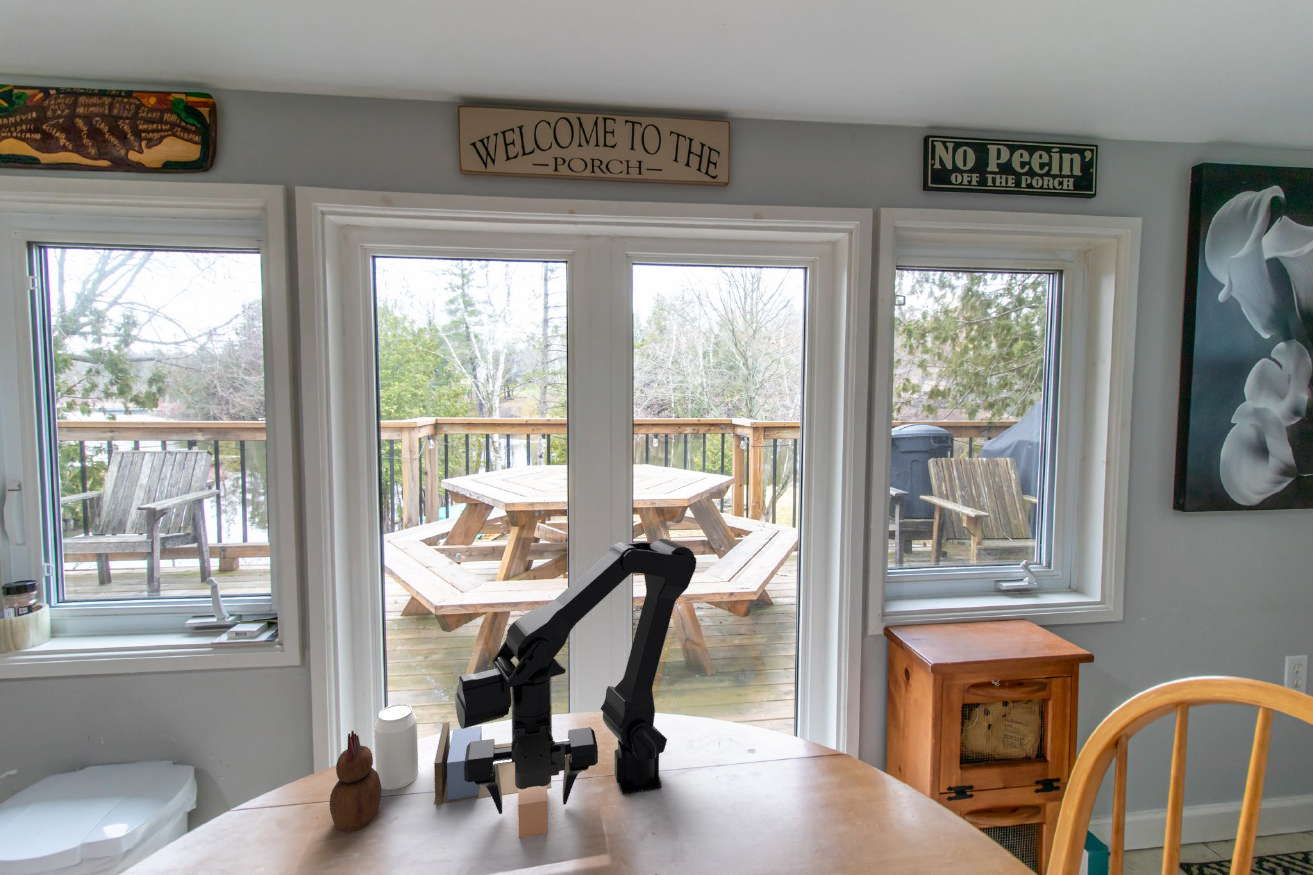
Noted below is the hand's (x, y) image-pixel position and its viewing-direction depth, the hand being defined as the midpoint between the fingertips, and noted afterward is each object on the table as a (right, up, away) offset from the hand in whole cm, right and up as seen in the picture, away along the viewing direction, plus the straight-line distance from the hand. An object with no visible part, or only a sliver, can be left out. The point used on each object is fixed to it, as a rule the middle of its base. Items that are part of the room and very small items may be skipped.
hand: (532, 807), depth 89 cm
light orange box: (0, -2, 0) cm, 2 cm away
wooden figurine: (-25, -2, -1) cm, 26 cm away
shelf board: (-8, -1, +9) cm, 12 cm away
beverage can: (-23, -1, +8) cm, 25 cm away
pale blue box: (-12, 0, +7) cm, 14 cm away
